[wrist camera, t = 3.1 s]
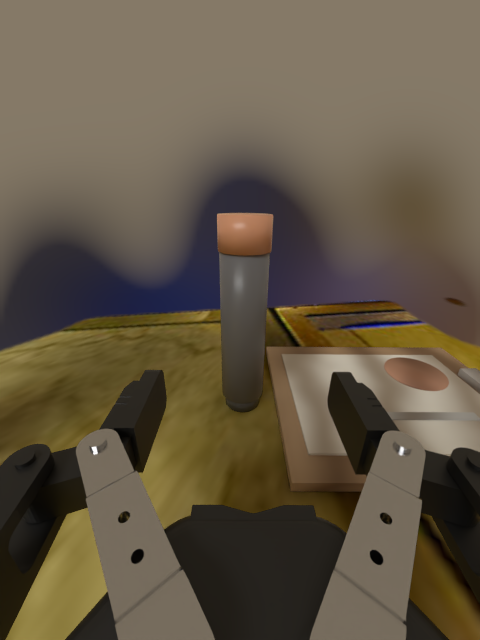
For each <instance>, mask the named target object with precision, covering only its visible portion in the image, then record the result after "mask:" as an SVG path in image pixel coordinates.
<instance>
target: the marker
mask: <svg viewBox="0 0 480 640" xmlns="http://www.w3.org/2000/svg"><path fill="white" fill-rule="evenodd" d="M217 227H218V228H217V230H218V251H219V255H220V297H221V298H220V299H221V346H222V392H223V395H224V396H225V397H226V404H227V405H228V407H229V408H230V409H232V410H234V411H237V412H248V411H251V410H253V409H254V408H256V406H257V405H258V402H259V398H260V396H261V395H262V388H263V369H264V351H265V332H266V313H267V294H268V275H269V256H270V252H271V246H272V245H271V244H272V227H273V215H272V214H261V213H221V214H217Z"/></svg>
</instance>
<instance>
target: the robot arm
mask: <svg viewBox="0 0 480 640" xmlns="http://www.w3.org/2000/svg"><path fill="white" fill-rule="evenodd" d="M166 399H167V398H166V389H165V381H164V374H163V371H162V370H145V372H144V373H143V375H142V377H141V379H140V381H132V382H131V383H130V384H129V385H128V386H126V387H125V388H124V390H123V391H122V393H121V395H120V398H118V400H117V401H116V404H115V405H114V406H113V408H112V410H111V411H110V413H109V414H108V416H107V418H106V419H105V421H104V423H103V424H102V426H101V428H100V429H99V430H97V431H94V432H92V433H90V434H88V435H87V436H86V437H84V438H83V439H82V440H81V441H80V442H79V444H78V446H77V447H73V448H70V449H66V450H62V451H58V452H54V453H51V451H50V449H49V447H48V446H47V445H44V444H34V445H30V446H27V447H24V448H22V449H20V450H18V451H16V452H15V453H13V454H12V455H11V456H9V457H8V458H7V459H6V460H5V461H4V462H3V464H2V465H1V466H0V640H5V639H6V637H7V635H8V633H9V631H10V629H11V627H12V625H13V623H14V621H15V619H16V617H17V615H18V613H19V611H20V609H21V607H22V605H23V603H24V601H25V599H26V597H27V595H28V592H29V590H30V588H31V586H32V584H33V582H34V580H35V578H36V576H37V574H38V572H39V570H40V568H41V566H42V564H43V562H44V560H45V558H46V556H47V554H48V552H49V550H50V548H51V545H52V543H53V541H54V539H55V537H56V535H57V533H58V531H59V529H60V527H61V525H62V523H63V521H64V519H65V517H66V515H67V514H69V513H72V512H75V511H78V510H81V509H84V508H88V511H89V515H90V519H91V523H92V527H93V532H94V536H95V540H96V544H97V548H98V552H99V557H100V561H101V565H102V569H103V573H104V578H105V582H106V586H107V590H108V592H107V593H106V594H105V595H104V596H103V597H102V599H101V600H100V601H99V602H98V603H97V604H96V605H95V606H94V608H93V609H92V610H91V611H90V612H89V613H88V614H87V615H86V617H85V618H84V619H83V620H82V621H81V622H80V623H79V625H78V626H77V627H76V628H75V629H74V630H73V631H72V632H71V634H70V635H69V636H68V637H67V638H66V639H65V640H449V639H448V638H447V637H446V636H445V635H444V634H443V633H442V632H441V631H440V630H439V629H438V628H437V627H436V626H435V625H434V624H433V622H432V621H431V620H430V619H429V618H428V617H427V616H426V615H425V614H424V613H423V612H422V611H421V610H420V609H419V608H418V607H417V606H416V605H415V604H414V603H413V602H412V601H411V600H410V598H409V592H410V584H411V577H412V570H413V563H414V556H415V549H416V542H417V535H418V528H419V521H420V514H421V513H424V514H427V515H430V516H432V518H433V520H434V521H435V523H436V525H437V527H438V529H439V531H440V532H441V534H442V536H443V538H444V540H445V542H446V543H447V545H448V547H449V549H450V551H451V553H452V554H453V556H454V558H455V560H456V562H457V564H458V565H459V567H460V569H461V571H462V573H463V575H464V576H465V578H466V580H467V582H468V584H469V586H470V587H471V589H472V591H473V593H474V595H475V597H476V598H477V600H478V602H479V604H480V452H478V451H475V450H473V449H469V448H463V447H459V448H456V449H454V450H453V451H452V453H451V455H450V456H447V455H443V454H439V453H435V452H431V451H428V450H425V449H424V448H423V446H422V445H421V444H420V443H419V442H418V441H417V440H416V439H415V438H413V437H412V436H410V435H408V434H406V433H403V432H400V431H399V429H398V428H397V426H396V425H395V423H394V422H393V420H392V419H391V417H390V416H389V415H388V413H387V412H386V410H385V409H384V407H382V404H381V403H380V401H379V400H377V397H376V396H375V394H374V393H373V391H372V390H371V389H370V388H368V387H367V386H366V385H364V384H363V383H357V381H356V380H355V378H354V377H353V375H352V373H351V372H333V373H332V376H331V381H330V387H329V393H328V399H327V403H328V409H329V412H330V415H331V417H332V420H333V422H334V424H335V427H336V429H337V432H338V434H339V436H340V439H341V441H342V444H343V446H344V448H345V451H346V453H347V456H348V458H349V460H350V463H351V465H352V468H353V470H354V472H355V475H366V476H367V478H366V481H365V484H364V487H363V490H362V492H361V495H360V498H359V501H358V504H357V506H356V509H355V512H354V515H353V518H352V521H351V523H350V526H349V529H348V532H347V534H346V533H345V532H344V531H343V530H342V529H340V528H339V527H337V526H336V525H334V524H332V523H331V522H329V521H327V520H324V519H322V518H319V517H316V514H315V510H314V506H312V505H283V506H280V507H276V508H273V509H269V510H266V511H262V512H259V513H248V512H245V511H241V510H238V509H234V508H231V507H227V506H224V505H192V512H191V516H188V517H185V518H183V519H180V520H178V521H176V522H175V523H173V524H171V525H170V526H168V527H167V528H166V529H163V527H162V525H161V523H160V520H159V518H158V516H157V514H156V512H155V509H154V507H153V505H152V503H151V500H150V498H149V496H148V494H147V492H146V489H145V487H144V485H143V483H142V480H141V478H140V476H139V474H138V472H143V471H144V468H145V465H146V462H147V459H148V457H149V454H150V451H151V448H152V445H153V442H154V440H155V437H156V434H157V431H158V428H159V425H160V423H161V420H162V417H163V414H164V411H165V408H166Z"/></svg>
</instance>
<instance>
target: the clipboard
mask: <svg viewBox="0 0 480 640" xmlns="http://www.w3.org/2000/svg"><path fill="white" fill-rule="evenodd" d="M266 354H267V359H268V365H269V371H270V376H271V382H272V388H273V393H274V399H275V405H276V410H277V416H278V422H279V427H280V433H281V439H282V444H283V450H284V456H285V461H286V467H287V473H288V478H289V484H290V490H291V491H329V492H362V490H363V487H364V484H365V481H366V478H367V476H366V475H355V472H354V470H353V468H352V465H351V463H350V460H349V458H348V456H347V453H346V451H345V448H344V446H343V444H342V441H341V439H340V436H339V434H338V432H337V429H336V427H335V424H334V422H333V420H332V417H331V415H330V412H329V409H328V403H327V399H328V393H329V387H330V381H331V376H332V373H333V372H351V373H352V375H353V377H354V378H355V380H356V381H357V383H363V384H364V385H366V386H367V387H368V388H370V389H371V390H372V391H373V393H374V394H375V396H376V397H377V400H379V401H380V403H381V404H382V407H384V409H385V410H386V412H387V413H388V415H389V416H390V417H391V419H392V420H393V422H394V423H395V425H396V426H397V428H398V429H399V431H400V432H403V433H406V434H408V435H410V436H412V437H413V438H415V439H416V440H417V441H418V442H419V443H420V444H421V445H422V446H423V448H424V449H425V450H428V451H431V452H435V453H439V454H443V455H447V456H450V455H451V453H452V451H453V450H454V449H456V448H459V447H463V448H469V449H473V450H475V451H478V452H480V371H479V370H477V369H470V368H468V367H466V366H465V365H464V364H462V363H461V362H460V361H458V360H457V359H456V358H454V357H453V356H452V355H450V354H449V353H447V352H446V351H445V350H443V349H442V348H383V347H267V349H266Z"/></svg>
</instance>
